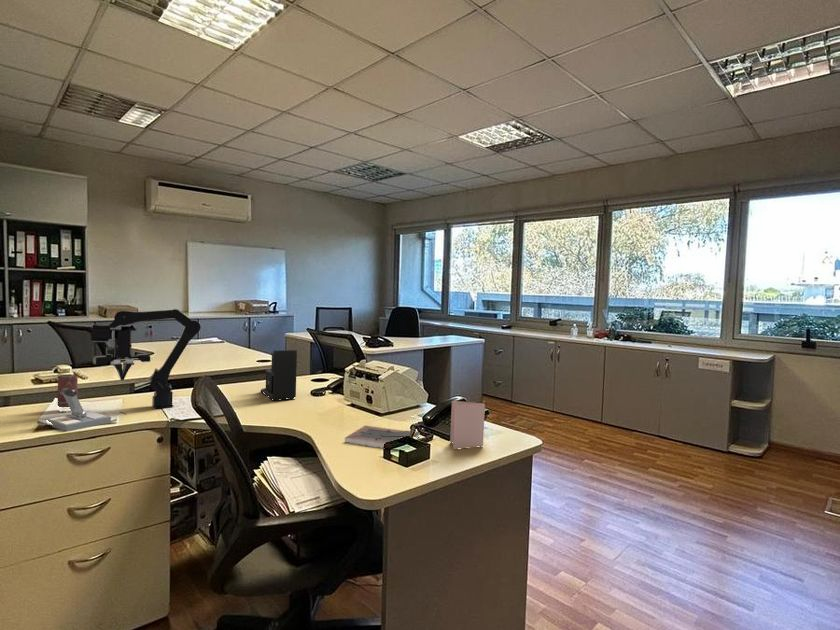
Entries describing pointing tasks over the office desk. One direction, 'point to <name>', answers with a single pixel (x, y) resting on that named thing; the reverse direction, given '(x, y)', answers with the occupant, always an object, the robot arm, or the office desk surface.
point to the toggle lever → (73, 402)
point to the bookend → (281, 375)
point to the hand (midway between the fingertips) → (122, 380)
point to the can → (66, 382)
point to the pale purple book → (376, 436)
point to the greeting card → (467, 424)
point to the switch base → (79, 421)
